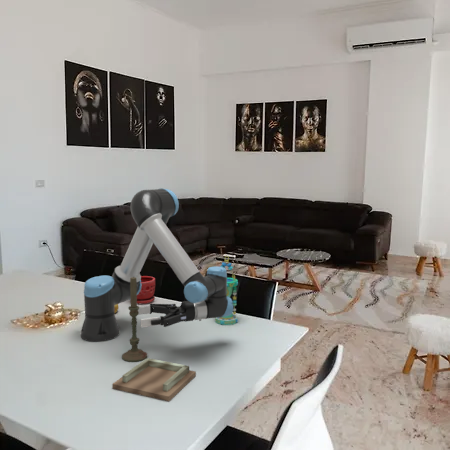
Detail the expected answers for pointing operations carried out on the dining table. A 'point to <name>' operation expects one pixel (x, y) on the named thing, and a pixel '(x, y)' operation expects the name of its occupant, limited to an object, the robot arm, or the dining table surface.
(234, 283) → the decorative hourglass
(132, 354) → the candlestick holder
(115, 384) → the railed board
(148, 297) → the plant pot
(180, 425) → the dining table surface
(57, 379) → the dining table surface
